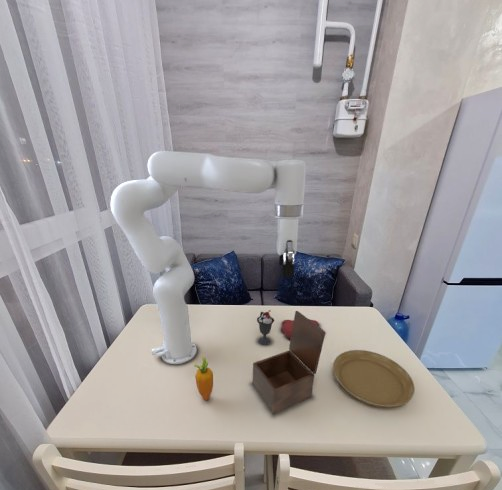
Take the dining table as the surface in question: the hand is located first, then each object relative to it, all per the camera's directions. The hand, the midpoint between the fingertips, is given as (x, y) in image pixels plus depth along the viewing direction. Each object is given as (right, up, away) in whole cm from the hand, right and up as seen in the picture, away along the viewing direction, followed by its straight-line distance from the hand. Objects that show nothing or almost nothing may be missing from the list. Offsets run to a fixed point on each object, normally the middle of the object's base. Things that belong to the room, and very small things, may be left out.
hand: (285, 270), depth 77 cm
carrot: (-24, -39, +1) cm, 45 cm away
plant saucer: (+29, -36, +9) cm, 47 cm away
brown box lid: (+6, -21, +1) cm, 22 cm away
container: (-1, -37, +5) cm, 37 cm away
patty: (+11, -23, +35) cm, 43 cm away
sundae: (-5, -27, +27) cm, 38 cm away
